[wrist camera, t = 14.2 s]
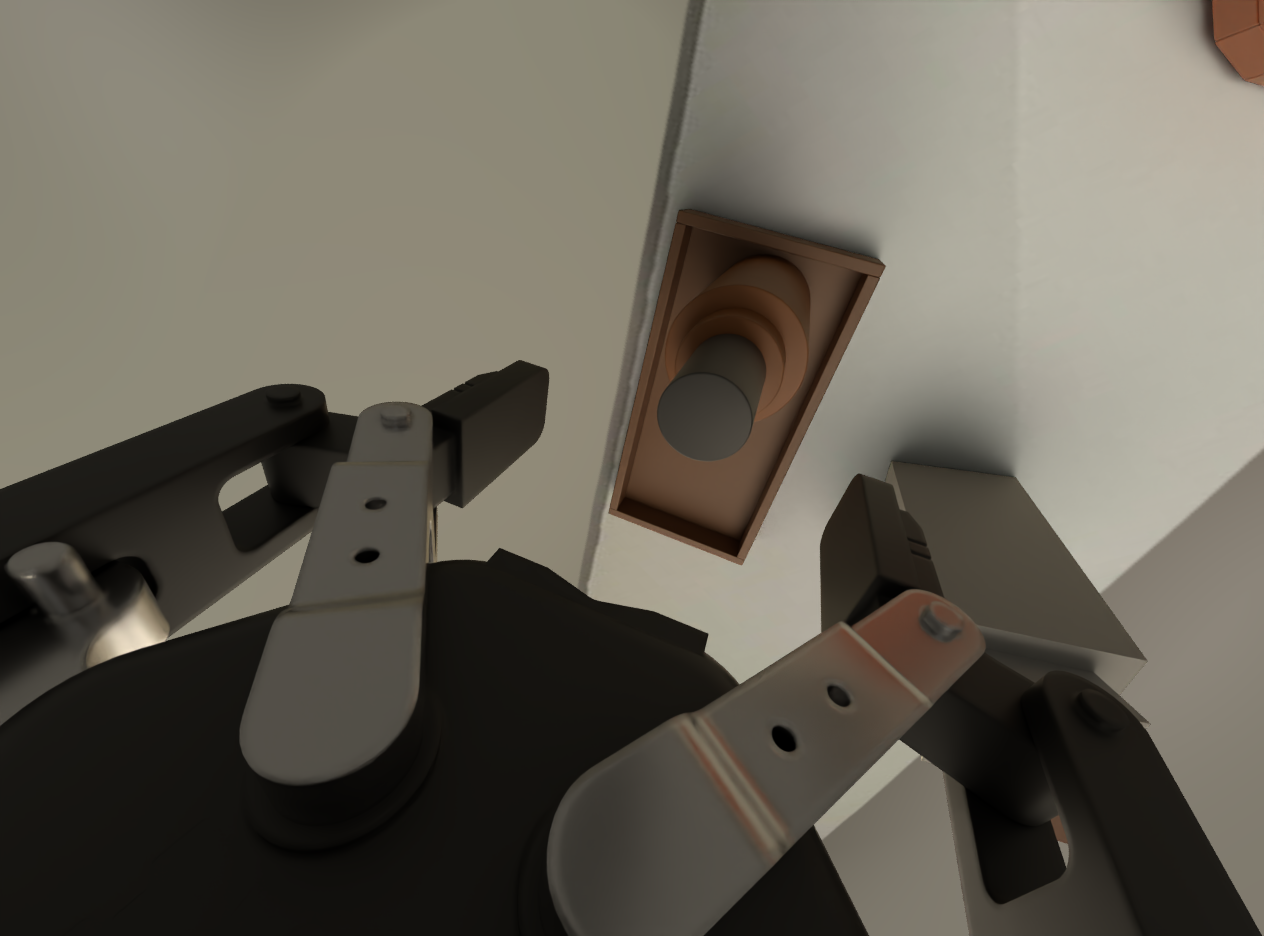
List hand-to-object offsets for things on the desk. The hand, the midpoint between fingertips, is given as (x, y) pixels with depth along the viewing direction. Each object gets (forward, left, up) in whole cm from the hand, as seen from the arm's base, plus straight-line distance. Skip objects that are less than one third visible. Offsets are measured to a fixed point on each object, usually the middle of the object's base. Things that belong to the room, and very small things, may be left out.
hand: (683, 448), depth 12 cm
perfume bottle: (+17, +6, -20) cm, 27 cm away
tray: (+5, -5, -20) cm, 21 cm away
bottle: (0, 0, -19) cm, 19 cm away
